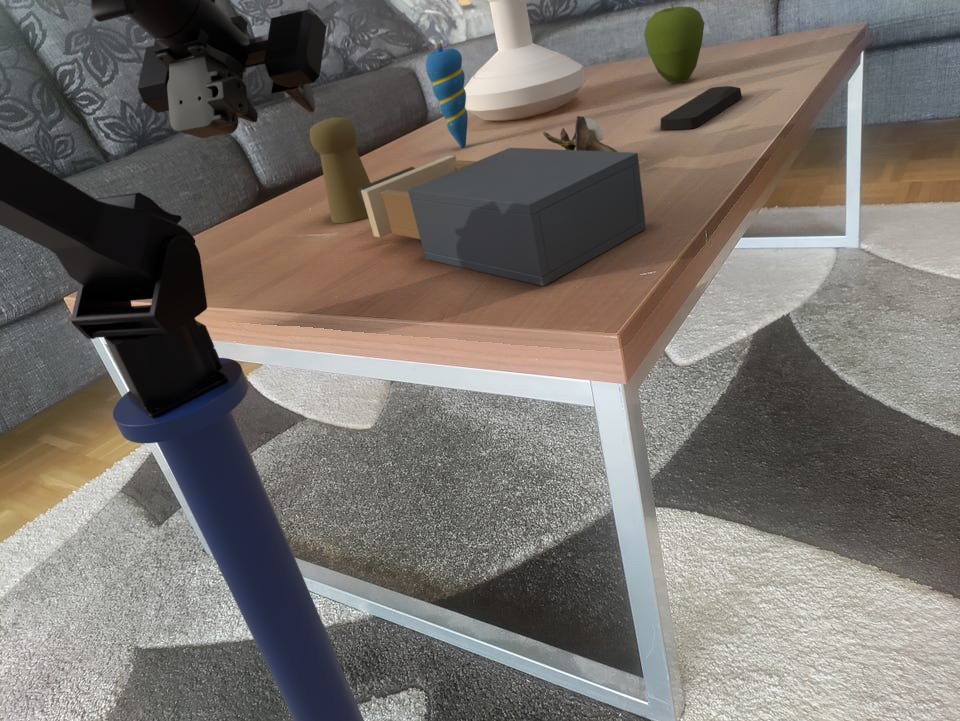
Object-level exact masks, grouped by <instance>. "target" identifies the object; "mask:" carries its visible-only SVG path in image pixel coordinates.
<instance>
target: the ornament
mask: <svg viewBox="0 0 960 721" xmlns="http://www.w3.org/2000/svg"><path fill="white" fill-rule="evenodd" d="M437 40H438V43H437ZM434 47H435V51H432V52H430V53H428V54H427V56H426V59H425V60H426V62H425V70H426V74H427V77H428V79H429V81H430V82H431V84H432V91H433V94H434V96H435V98H436V99H437V101H438V102H439V108H440V112H441V114H442V116H443V117H444V119H445V121H446V128H447V131H449V133H450V135H451V136H452V137H453V139H454V140H455V141H456V144H458V146H459V147H460V148H461V149H463V148H466V146H467V136H468V135H467V134H468V119H469V118H468V116H469V115H468V111H467V110H466V108H465V104H466V92H465V89H464V87H465V86H464V85H465V78H466V77H465V75H466V74H465V72H464V70H463V67H462V65H463V64H462V63H463V57H462V54H461V52H460V51H459V50H457V49H455V48H443V44H442V42H440V39H439V38H438V37H437V38H436V39H435V44H434Z"/></svg>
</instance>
